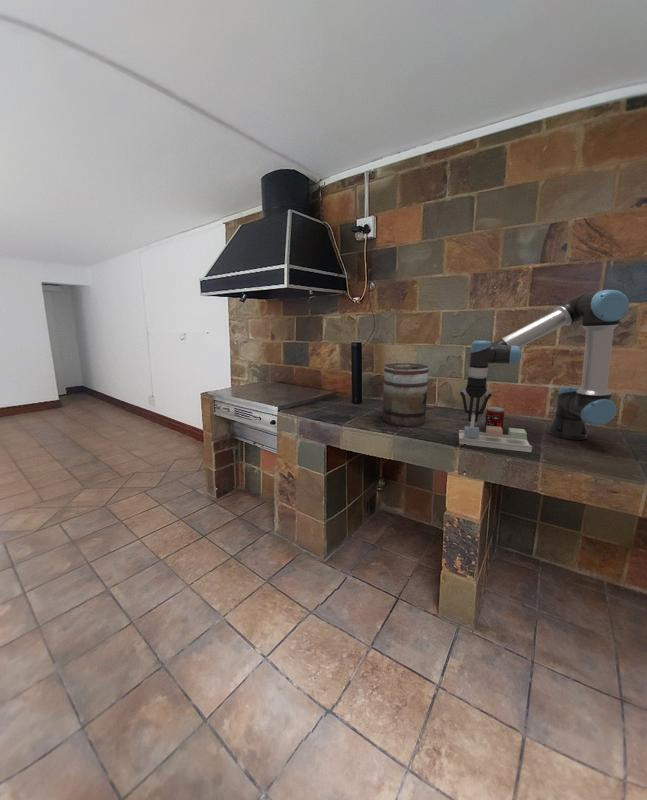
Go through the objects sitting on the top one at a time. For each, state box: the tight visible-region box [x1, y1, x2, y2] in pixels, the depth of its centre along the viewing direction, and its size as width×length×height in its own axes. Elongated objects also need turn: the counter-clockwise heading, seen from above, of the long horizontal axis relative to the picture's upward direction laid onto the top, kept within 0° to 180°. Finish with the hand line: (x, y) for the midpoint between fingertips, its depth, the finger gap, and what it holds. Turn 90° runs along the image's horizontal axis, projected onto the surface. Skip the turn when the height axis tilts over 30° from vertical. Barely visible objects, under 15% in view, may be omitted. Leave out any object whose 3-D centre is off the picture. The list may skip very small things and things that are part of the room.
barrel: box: [382, 362, 430, 429], centre depth 179 cm, size 22×22×30 cm
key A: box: [507, 427, 528, 439], centre depth 146 cm, size 6×6×3 cm
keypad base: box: [458, 429, 533, 453], centre depth 150 cm, size 28×12×3 cm, turn 69°
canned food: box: [484, 406, 506, 431], centre depth 166 cm, size 8×8×11 cm
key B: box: [485, 426, 504, 437], centre depth 149 cm, size 6×6×3 cm
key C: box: [463, 425, 481, 437], centre depth 152 cm, size 6×6×3 cm
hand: (471, 428), depth 152 cm, fingers closed
